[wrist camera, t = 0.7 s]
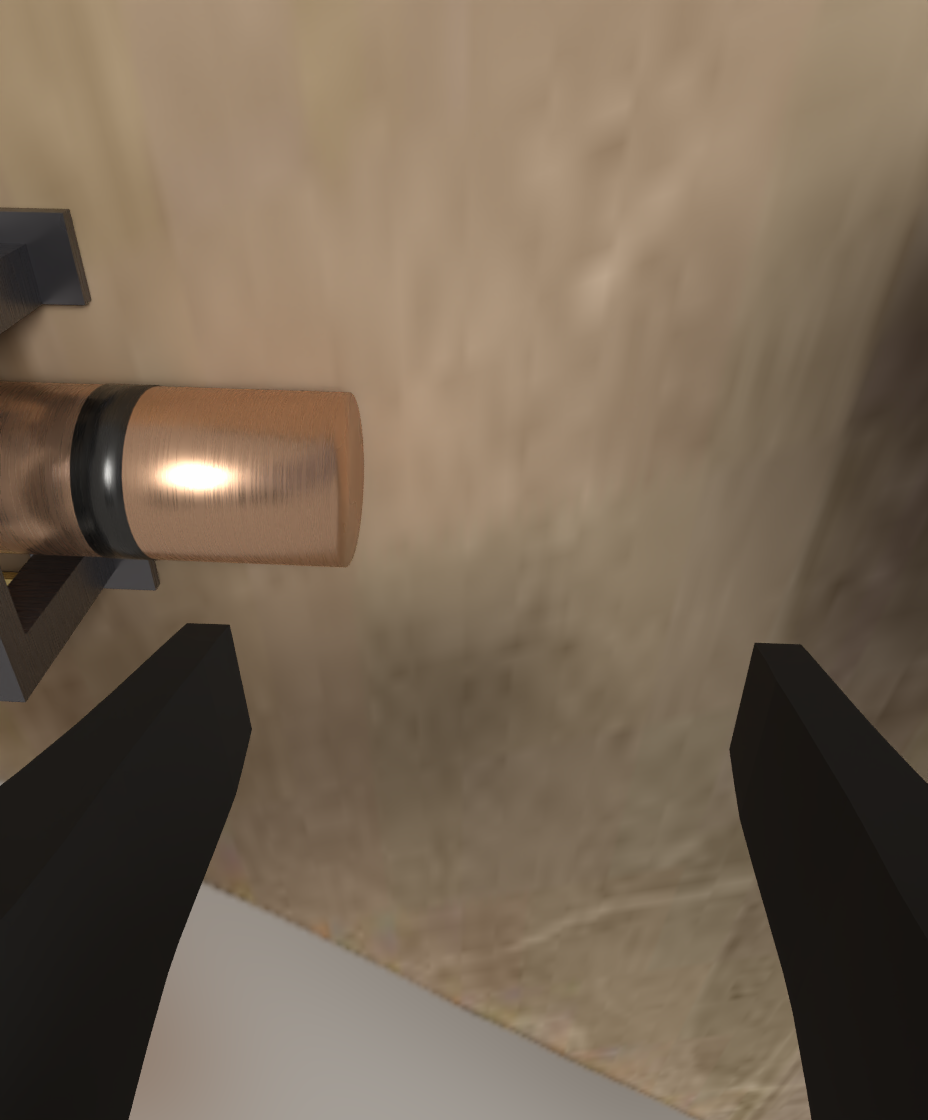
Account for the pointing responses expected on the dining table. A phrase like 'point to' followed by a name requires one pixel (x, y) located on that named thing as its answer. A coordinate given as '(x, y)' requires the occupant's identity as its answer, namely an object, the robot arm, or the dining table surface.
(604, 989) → the dining table surface
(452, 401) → the dining table surface
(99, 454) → the tube
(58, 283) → the dark grey support bracket
